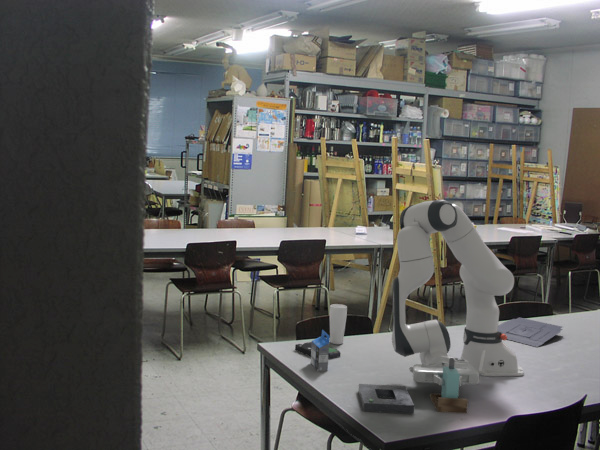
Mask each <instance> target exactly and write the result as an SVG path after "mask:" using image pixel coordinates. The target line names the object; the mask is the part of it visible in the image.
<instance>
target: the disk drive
mask: <svg viewBox="0 0 600 450" xmlns="http://www.w3.org/2000/svg"><path fill="white" fill-rule="evenodd" d="M311 345H312V341H310V342H304V343H303V344H302V343H298V344H295V349H294V350H295V352H298V353H301V354H304V355H305V356H307V357H310V358H311ZM340 357H341V351H340V350H339V349H337V348H334V347H332V346H329V354H328V360H330V359H336V358H340Z"/></svg>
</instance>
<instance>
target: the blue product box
mask: <svg viewBox="0 0 600 450" xmlns="http://www.w3.org/2000/svg"><path fill="white" fill-rule="evenodd" d="M311 342H312V345H311V357H310V364H311V366H313V368H314V369H315V370H316V371H317V372H328V371H329V369H328V367H329V359H328V354H329V347H330V334H328V333H327V332H326V331H325V330H324V329H322V330H321V336H319V337H317V338H315V339H313V340H311Z"/></svg>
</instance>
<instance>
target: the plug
mask: <svg viewBox="0 0 600 450" xmlns="http://www.w3.org/2000/svg"><path fill="white" fill-rule="evenodd" d="M454 358H455V357H454ZM454 358H450V359H449V367H443V377H442V378H444V380H445V386H441V393H440V394H441V397H442V398H458V395H459V388H460V386H459V376H460V374H459V372H458V371H457V370H456V368H455V367H454V364H455V360H454Z"/></svg>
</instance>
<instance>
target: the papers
mask: <svg viewBox="0 0 600 450" xmlns="http://www.w3.org/2000/svg"><path fill="white" fill-rule="evenodd" d="M498 331H499V332H501V333H502V334H505V335H506V336H507V339H506V340H509V341H513V342H517V343H521V344H524V345H528V346H533V347H535V348H536V347H537V348H539V347H540V346H542V345H543V344H545V343H546V342H547V341H549V340H551V339H552V338H553V337H555V336H556V335H559V334H560V333H561V331H563V326H561V325H556V324H552V323H547V322H542V321H538V320H534V319H533V320H532V319H529V318H525V317H517V318H512V319H509V320H507V321H504V322H503V323H501V324H498Z"/></svg>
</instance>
